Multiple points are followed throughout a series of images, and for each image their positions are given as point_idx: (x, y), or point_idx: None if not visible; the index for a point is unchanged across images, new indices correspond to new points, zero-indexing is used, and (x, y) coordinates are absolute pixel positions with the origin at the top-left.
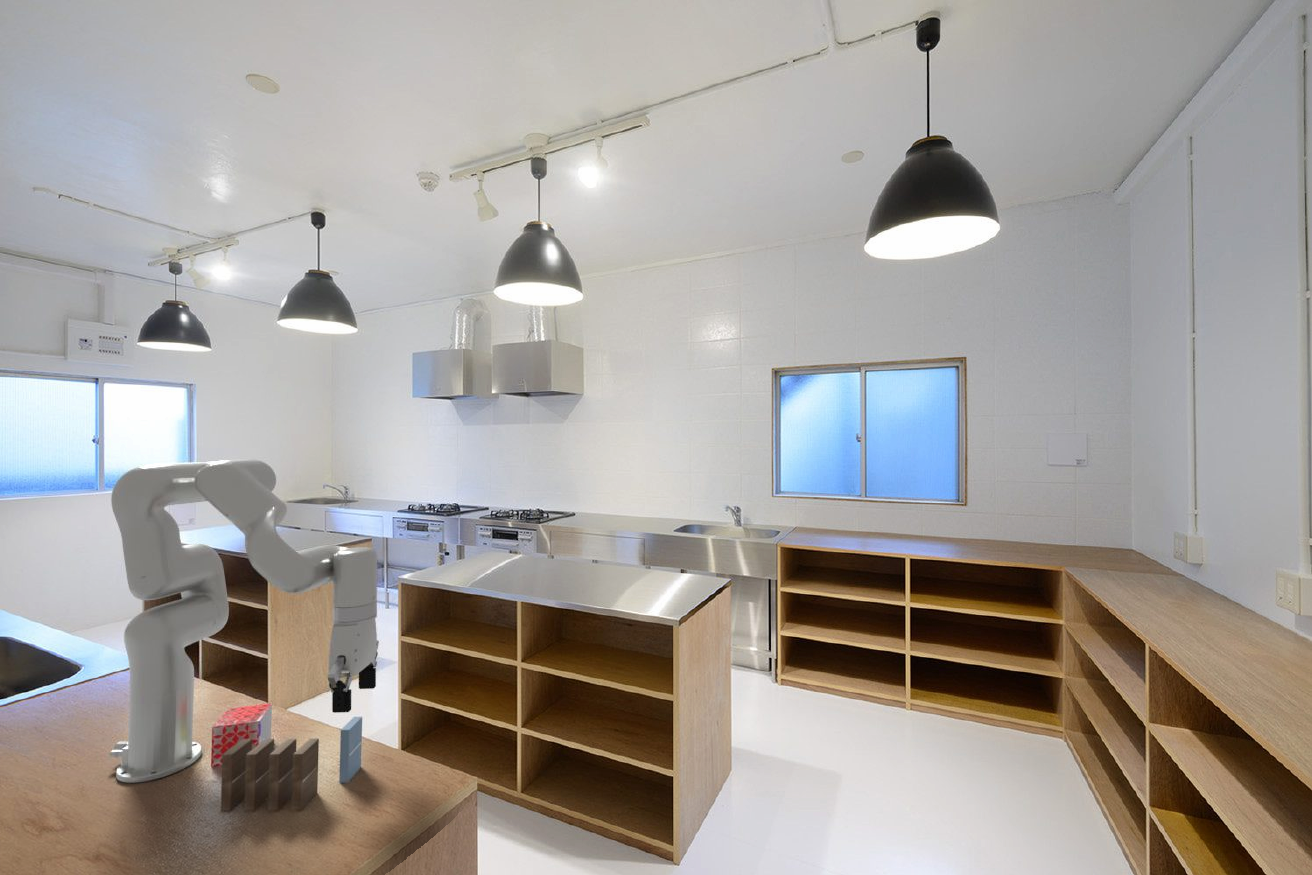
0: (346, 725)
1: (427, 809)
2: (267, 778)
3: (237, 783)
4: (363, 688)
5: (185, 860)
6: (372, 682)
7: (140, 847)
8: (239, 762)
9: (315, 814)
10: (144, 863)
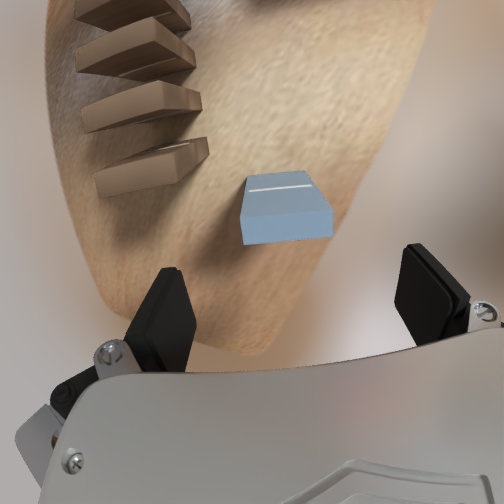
0: (270, 219)
1: (205, 339)
2: (163, 65)
3: None
4: (401, 265)
5: (51, 94)
6: (404, 316)
7: (68, 14)
8: (119, 15)
9: (154, 196)
10: (46, 53)
